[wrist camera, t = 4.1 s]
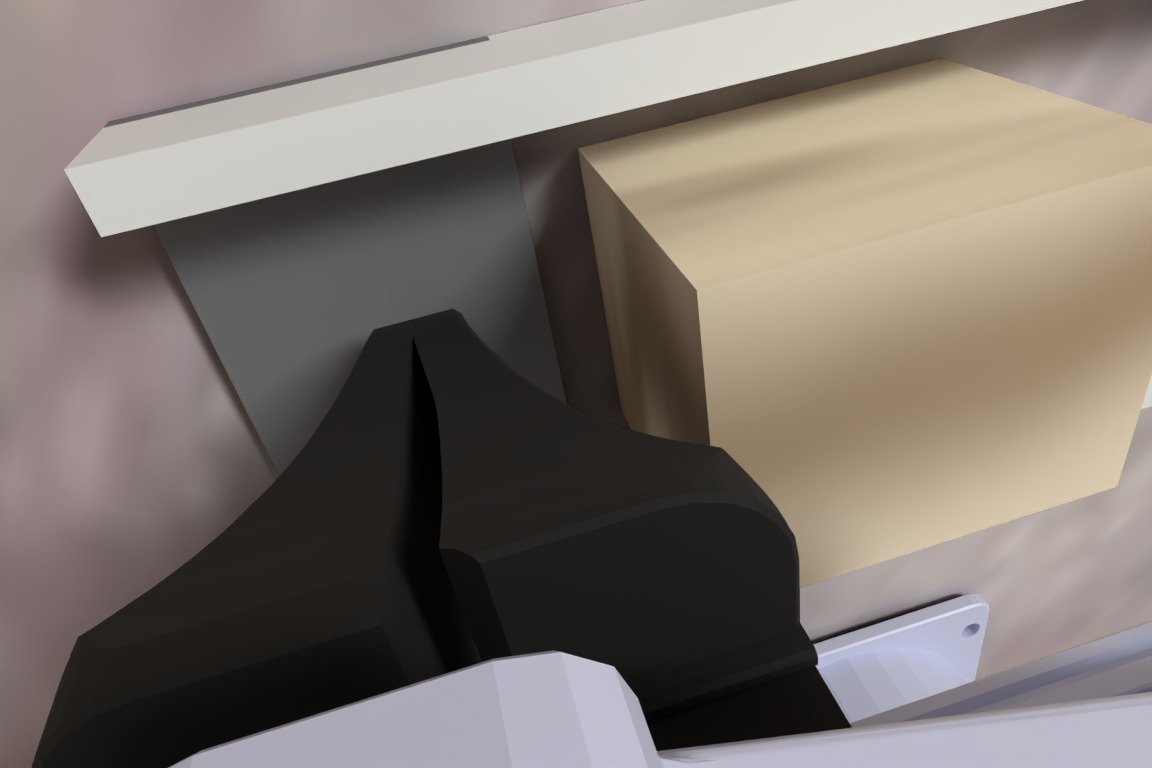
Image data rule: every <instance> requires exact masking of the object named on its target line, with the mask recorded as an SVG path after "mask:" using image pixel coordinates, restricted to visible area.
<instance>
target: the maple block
mask: <svg viewBox="0 0 1152 768" xmlns="http://www.w3.org/2000/svg"><path fill="white" fill-rule="evenodd" d="M578 153H579V159H580V165H581V171H582V177H583V183H584V189H585V195H586V201H587V207H588V213H589V219H590V225H591V231H592V237H593V243H594V249H595V255H596V261H597V267H598V273H599V279H600V285H601V291H602V297H603V303H604V309H605V315H606V321H607V327H608V333H609V339H610V345H611V351H612V357H613V363H614V369H615V375H616V381H617V387H618V393H619V399H620V405H621V411H622V413H623V415H624V416H625V418H626V420H627V422H628V424H629V426H630V428H631V430H634V431H638V432H642V433H645V434H649V435H653V436H657V437H661V438H665V439H671V440H678V441H684V442H690V443H696V444H703V445H709V446H715V447H721V448H722V449H724V450H725V451H726V452H727V453H728V454H729V455H730V456H731V457H732V458H733V459H734V460H735V461H736V462H737V463H738V464H739V465H740V466H741V467H742V468H743V469H744V470H745V471H746V472H747V473H748V474H749V475H750V476H751V477H752V479H753V480H754V481H755V482H756V483H757V484H758V485H759V486H760V487H761V488H762V489H763V491H764V492H765V493H766V494H767V495H768V496H769V498H770V499H771V500H772V502H773V503H774V504H775V505H776V507H777V508H778V510H779V511H780V513H781V514H782V516H783V517H784V519H785V520H786V522H787V524H788V526H789V528H790V529H791V531H792V532H793V534H794V535H795V539H796V544H797V549H798V554H799V571H800V588H802V587H805V586H808V585H811V584H814V583H817V582H821V581H824V580H827V579H830V578H833V577H836V576H839V575H842V574H846V573H849V572H852V571H855V570H858V569H861V568H864V567H867V566H871V565H874V564H877V563H880V562H883V561H886V560H889V559H892V558H895V557H899V556H902V555H905V554H908V553H911V552H914V551H917V550H920V549H924V548H927V547H930V546H933V545H936V544H939V543H942V542H945V541H948V540H952V539H955V538H958V537H961V536H964V535H967V534H970V533H973V532H977V531H980V530H983V529H986V528H989V527H992V526H995V525H998V524H1001V523H1005V522H1008V521H1011V520H1014V519H1017V518H1020V517H1023V516H1026V515H1030V514H1033V513H1036V512H1039V511H1042V510H1045V509H1048V508H1051V507H1054V506H1058V505H1061V504H1064V503H1067V502H1070V501H1073V500H1076V499H1079V498H1083V497H1086V496H1089V495H1092V494H1095V493H1098V492H1101V491H1104V490H1107V489H1111V488H1114V487H1117V485H1118V482H1119V478H1120V475H1121V472H1122V469H1123V465H1124V462H1125V459H1126V456H1127V452H1128V449H1129V446H1130V443H1131V439H1132V436H1133V433H1134V430H1135V426H1136V423H1137V420H1138V417H1139V414H1140V410H1141V407H1142V404H1143V401H1144V397H1145V394H1146V391H1147V388H1148V384H1149V381H1150V378H1151V375H1152V124H1149V123H1146V122H1143V121H1140V120H1136V119H1133V118H1130V117H1127V116H1124V115H1121V114H1117V113H1114V112H1111V111H1108V110H1105V109H1102V108H1098V107H1095V106H1092V105H1089V104H1086V103H1083V102H1079V101H1076V100H1073V99H1070V98H1067V97H1063V96H1060V95H1057V94H1054V93H1051V92H1048V91H1044V90H1041V89H1038V88H1035V87H1032V86H1029V85H1025V84H1022V83H1019V82H1016V81H1013V80H1010V79H1006V78H1003V77H1000V76H997V75H994V74H991V73H987V72H984V71H981V70H978V69H975V68H972V67H968V66H965V65H962V64H959V63H956V62H953V61H949V60H946V59H943V58H940V59H936V60H932V61H928V62H924V63H920V64H916V65H912V66H908V67H904V68H900V69H896V70H892V71H888V72H884V73H880V74H876V75H872V76H868V77H864V78H860V79H856V80H852V81H847V82H843V83H839V84H835V85H831V86H827V87H823V88H819V89H815V90H811V91H807V92H803V93H799V94H795V95H791V96H787V97H783V98H779V99H775V100H771V101H767V102H763V103H759V104H755V105H751V106H747V107H743V108H739V109H735V110H731V111H727V112H723V113H719V114H715V115H711V116H707V117H703V118H699V119H695V120H691V121H687V122H683V123H678V124H674V125H670V126H666V127H662V128H658V129H654V130H650V131H646V132H642V133H638V134H634V135H630V136H626V137H622V138H618V139H614V140H610V141H606V142H602V143H598V144H594V145H590V146H586V147H582V148H578Z"/></svg>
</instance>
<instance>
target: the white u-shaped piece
mask: <svg viewBox="0 0 1152 768" xmlns="http://www.w3.org/2000/svg"><path fill="white" fill-rule="evenodd" d="M1078 1H1083V0H644V1H640V2H635V3H631V4H627V5H622V6H618V7H613V8H609V9H605V10H600V11H596V12H591V13H587V14H582V15H578V16H574V17H569V18H565V19H560V20H556V21H552V22H547V23H543V24H538V25H534V26H529V27H525V28H521V29H516V30H512V31H507V32H503V33H499V34H494V35H490V36H485V37H481V38H476V39H472V40H468V41H463V42H459V43H454V44H450V45H446V46H441V47H437V48H432V49H428V50H423V51H419V52H415V53H410V54H406V55H401V56H397V57H393V58H388V59H384V60H379V61H375V62H370V63H366V64H362V65H357V66H353V67H348V68H344V69H340V70H335V71H331V72H326V73H322V74H317V75H313V76H309V77H304V78H300V79H295V80H291V81H287V82H282V83H278V84H273V85H269V86H264V87H260V88H256V89H251V90H247V91H242V92H238V93H234V94H229V95H225V96H220V97H216V98H211V99H207V100H203V101H198V102H194V103H189V104H185V105H181V106H176V107H172V108H167V109H163V110H158V111H154V112H150V113H145V114H141V115H136V116H132V117H128V118H123V119H119V120H114V121H110V122H108V123H107V124H106V125H105V127H104V128H103V129H102V130H101V131H100V132H99V133H98V134H97V135H96V136H95V137H94V138H93V139H92V140H91V141H90V143H89V144H88V145H87V146H86V147H85V148H84V149H83V150H82V151H81V152H80V153H79V154H78V155H77V156H76V157H75V159H74V160H73V161H72V162H71V163H70V164H69V165H68V166H67V167H66V168H65V169H64V171H65V172H66V174H67V176H68V178H69V180H70V182H71V183H72V185H73V187H74V189H75V191H76V192H77V194H78V196H79V198H80V200H81V202H82V203H83V205H84V207H85V209H86V211H87V212H88V214H89V216H90V218H91V220H92V222H93V223H94V225H95V227H96V229H97V231H98V232H99V234H100V236H101V237H105V236H109V235H113V234H117V233H121V232H125V231H130V230H134V229H138V228H142V227H146V226H150V225H153V227H154V229H155V231H156V233H157V235H158V237H159V239H160V241H161V243H162V245H163V247H164V249H165V251H166V253H167V255H168V257H169V259H170V261H171V263H172V265H173V267H174V269H175V271H176V273H177V275H178V277H179V279H180V281H181V283H182V285H183V287H184V289H185V291H186V293H187V295H188V297H189V299H190V301H191V303H192V304H193V306H194V308H195V310H196V312H197V314H198V316H199V318H200V320H201V322H202V324H203V326H204V328H205V330H206V332H207V334H208V336H209V338H210V340H211V342H212V344H213V346H214V348H215V350H216V352H217V354H218V356H219V358H220V360H221V362H222V364H223V366H224V368H225V370H226V372H227V374H228V376H229V378H230V380H231V382H232V384H233V386H234V388H235V390H236V392H237V394H238V395H239V397H240V399H241V401H242V403H243V405H244V407H245V409H246V411H247V413H248V415H249V417H250V419H251V421H252V423H253V425H254V427H255V429H256V431H257V433H258V435H259V437H260V439H261V441H262V443H263V445H264V447H265V449H266V451H267V453H268V455H269V457H270V459H271V461H272V463H273V465H274V467H275V469H276V471H277V473H278V475H279V476H280V475H281V474H282V473H283V472H284V471H285V469H286V468H287V467H288V466H289V465H290V464H291V462H292V461H293V460H294V459H295V458H296V456H297V455H298V454H299V453H300V451H301V450H302V449H303V448H304V446H305V445H306V444H307V442H308V441H309V440H310V438H311V437H312V435H313V434H314V432H315V431H316V429H317V428H318V426H319V425H320V423H321V422H322V420H323V419H324V417H325V416H326V414H327V413H328V411H329V410H330V408H331V407H332V405H333V403H334V401H335V400H336V398H337V396H338V394H339V393H340V391H341V389H342V387H343V386H344V384H345V382H346V380H347V379H348V377H349V375H350V373H351V371H352V369H353V367H354V365H355V363H356V361H357V359H358V358H359V356H360V354H361V352H362V350H363V348H364V346H365V344H366V342H367V340H368V338H369V336H370V335H371V333H372V331H373V330H374V329H377V328H381V327H385V326H389V325H392V324H396V323H400V322H404V321H408V320H411V319H415V318H419V317H423V316H426V315H430V314H434V313H438V312H442V311H445V310H449V309H455V310H457V311H458V312H460V313H462V315H463V317H464V319H465V320H466V322H467V323H468V325H469V326H470V327H471V329H472V330H473V331H474V332H475V333H476V334H477V336H478V337H479V338H480V339H481V340H482V341H483V342H484V343H485V344H486V345H487V346H488V347H489V348H490V349H491V350H492V351H493V352H495V353H496V354H497V355H498V356H499V357H500V358H501V359H502V360H503V361H505V362H506V363H507V364H508V365H509V366H510V367H512V368H513V369H514V370H515V371H517V372H518V373H519V374H521V375H522V376H523V377H525V378H526V379H527V380H529V381H530V382H532V383H533V384H534V385H536V386H537V387H539V388H540V389H542V390H543V391H545V392H547V393H548V394H550V395H551V396H553V397H555V398H557V399H558V400H560V401H562V402H564V403H565V404H567V401H566V396H565V392H564V387H563V382H562V378H561V373H560V368H559V363H558V359H557V354H556V349H555V344H554V340H553V335H552V330H551V325H550V321H549V316H548V311H547V307H546V302H545V297H544V292H543V288H542V283H541V278H540V273H539V269H538V264H537V259H536V254H535V250H534V245H533V240H532V236H531V231H530V226H529V221H528V217H527V212H526V207H525V202H524V198H523V193H522V188H521V183H520V179H519V174H518V169H517V165H516V160H515V155H514V150H513V146H512V141H511V138H515V137H519V136H523V135H527V134H532V133H536V132H540V131H544V130H548V129H552V128H556V127H561V126H565V125H569V124H573V123H577V122H581V121H585V120H590V119H594V118H598V117H602V116H606V115H610V114H614V113H619V112H623V111H627V110H631V109H635V108H639V107H643V106H648V105H652V104H656V103H660V102H664V101H668V100H672V99H677V98H681V97H685V96H689V95H693V94H697V93H701V92H706V91H710V90H714V89H718V88H722V87H726V86H730V85H735V84H739V83H743V82H747V81H751V80H755V79H759V78H764V77H768V76H772V75H776V74H780V73H784V72H788V71H793V70H797V69H801V68H805V67H809V66H813V65H817V64H822V63H826V62H830V61H834V60H838V59H842V58H846V57H851V56H855V55H859V54H863V53H867V52H871V51H875V50H880V49H884V48H888V47H892V46H896V45H900V44H904V43H909V42H913V41H917V40H921V39H925V38H929V37H933V36H938V35H942V34H946V33H950V32H954V31H958V30H962V29H967V28H971V27H975V26H979V25H983V24H987V23H991V22H996V21H1000V20H1004V19H1008V18H1012V17H1016V16H1020V15H1025V14H1029V13H1033V12H1037V11H1041V10H1045V9H1049V8H1054V7H1058V6H1062V5H1066V4H1070V3H1074V2H1078ZM1151 406H1152V375H1151V378H1150V381H1149V384H1148V388H1147V391H1146V394H1145V397H1144V401H1143V404H1142V407H1141V409H1144V408H1147V407H1151Z"/></svg>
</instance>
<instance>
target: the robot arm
mask: <svg viewBox="0 0 1152 768" xmlns="http://www.w3.org/2000/svg"><path fill="white" fill-rule="evenodd" d="M988 616H989V606H988V605H987V603H986V602H985V601H984V600H983V599H982V598H981V597H980V596H979V595H977V594H967V595H963V596H960V597H957V598H954V599H951V600H948V601H945V602H942V603H939V604H936V605H933V606H929V607H926V608H923V609H920V610H917V611H914V612H911V613H908V614H905V615H902V616H899V617H896V618H893V619H889V620H886V621H883V622H880V623H877V624H874V625H871V626H868V627H865V628H862V629H859V630H856V631H853V632H849V633H846V634H843V635H840V636H837V637H834V638H831V639H828V640H825V641H822V642H819V643H816V644H813V643H812V642H811V640H810V638H809V637H808V635H807V634H806V632H805V630H804V629H803V627H802V625H801V624H800V571H799V554H798V549H797V544H796V539H795V535H794V534H793V532H792V531H791V529H790V528H789V526H788V524H787V522H786V520H785V519H784V517H783V516H782V514H781V513H780V511H779V510H778V508H777V507H776V505H775V504H774V503H773V502H772V500H771V499H770V498H769V496H768V495H767V494H766V493H765V492H764V491H763V489H762V488H761V487H760V486H759V485H758V484H757V483H756V482H755V481H754V480H753V479H752V477H751V476H750V475H749V474H748V473H747V472H746V471H745V470H744V469H743V468H742V467H741V466H740V465H739V464H738V463H737V462H736V461H735V460H734V459H733V458H732V457H731V456H730V455H729V454H728V453H727V452H726V451H725V450H724V449H722V448H721V447H715V446H709V445H703V444H696V443H690V442H684V441H678V440H671V439H665V438H661V437H657V436H653V435H649V434H645V433H642V432H638V431H634V430H630V429H627V428H624V427H621V426H618V425H615V424H612V423H609V422H606V421H604V420H601V419H599V418H596V417H594V416H591V415H589V414H586V413H584V412H581V411H579V410H577V409H575V408H573V407H571V406H569V405H567V404H565V403H564V402H562V401H560V400H558V399H557V398H555V397H553V396H551V395H550V394H548V393H547V392H545V391H543V390H542V389H540V388H539V387H537V386H536V385H534V384H533V383H532V382H530V381H529V380H527V379H526V378H525V377H523V376H522V375H521V374H519V373H518V372H517V371H515V370H514V369H513V368H512V367H510V366H509V365H508V364H507V363H506V362H505V361H503V360H502V359H501V358H500V357H499V356H498V355H497V354H496V353H495V352H493V351H492V350H491V349H490V348H489V347H488V346H487V345H486V344H485V343H484V342H483V341H482V340H481V339H480V338H479V337H478V336H477V334H476V333H475V332H474V331H473V330H472V329H471V327H470V326H469V325H468V323H467V322H466V320H465V319H464V317H463V315H462V313H460V312H458V311H457V310H455V309H449V310H445V311H442V312H438V313H434V314H430V315H426V316H423V317H419V318H415V319H411V320H408V321H404V322H400V323H396V324H392V325H389V326H385V327H381V328H377V329H374V330H373V331H372V333H371V335H370V336H369V338H368V340H367V342H366V344H365V346H364V348H363V350H362V352H361V354H360V356H359V358H358V359H357V361H356V363H355V365H354V367H353V369H352V371H351V373H350V375H349V377H348V379H347V380H346V382H345V384H344V386H343V387H342V389H341V391H340V393H339V394H338V396H337V398H336V400H335V401H334V403H333V405H332V407H331V408H330V410H329V411H328V413H327V414H326V416H325V417H324V419H323V420H322V422H321V423H320V425H319V426H318V428H317V429H316V431H315V432H314V434H313V435H312V437H311V438H310V440H309V441H308V442H307V444H306V445H305V446H304V448H303V449H302V450H301V451H300V453H299V454H298V455H297V456H296V458H295V459H294V460H293V461H292V462H291V464H290V465H289V466H288V467H287V468H286V469H285V471H284V472H283V473H282V474H281V475H280V476H279V477H278V479H277V480H276V481H275V482H274V483H273V484H272V485H271V486H270V487H269V488H268V490H267V491H265V492H264V493H263V494H262V495H261V496H260V497H259V498H258V499H257V500H256V501H255V502H254V503H253V504H252V505H251V506H250V507H249V508H248V509H247V510H246V511H245V512H244V513H243V514H242V515H241V516H240V517H239V518H238V519H237V520H236V521H235V522H234V523H233V524H231V525H230V526H229V527H228V528H227V529H226V530H225V531H224V532H223V533H222V534H221V535H219V536H218V537H217V538H216V539H215V540H213V541H212V542H211V543H210V544H209V545H207V546H206V547H205V548H204V549H203V550H202V551H200V552H199V553H198V554H197V555H195V556H194V557H193V558H192V559H190V560H189V561H188V562H186V563H185V564H184V565H183V566H181V567H180V568H179V569H177V570H176V571H175V572H174V573H172V574H171V575H170V576H168V577H167V578H166V579H164V580H163V581H161V582H160V583H159V584H157V585H156V586H155V587H153V588H152V589H150V590H149V591H147V592H146V593H144V594H143V595H141V596H140V597H138V598H137V599H136V600H134V601H133V602H131V603H130V604H128V605H127V606H125V607H124V608H122V609H121V610H119V611H118V612H116V613H115V614H113V615H112V616H110V617H109V618H107V619H106V620H104V621H103V622H101V623H100V624H98V625H97V626H95V627H94V628H92V629H91V630H89V631H87V632H86V633H84V634H82V635H81V636H79V637H78V639H77V641H76V644H75V646H74V648H73V651H72V653H71V656H70V658H69V661H68V663H67V666H66V668H65V671H64V673H63V675H62V678H61V681H60V684H59V687H58V690H57V693H56V696H55V699H54V702H53V705H52V707H51V710H50V713H49V716H48V719H47V722H46V725H45V728H44V731H43V734H42V737H41V740H40V743H39V746H38V749H37V752H36V755H35V758H34V762H33V765H32V768H1152V621H1150V622H1147V623H1144V624H1141V625H1138V626H1135V627H1132V628H1129V629H1126V630H1123V631H1120V632H1117V633H1114V634H1112V635H1109V636H1106V637H1103V638H1100V639H1097V640H1094V641H1091V642H1088V643H1085V644H1082V645H1079V646H1076V647H1073V648H1070V649H1067V650H1064V651H1061V652H1058V653H1056V654H1053V655H1050V656H1047V657H1044V658H1041V659H1038V660H1035V661H1032V662H1029V663H1026V664H1023V665H1020V666H1017V667H1014V668H1011V669H1008V670H1005V671H1003V672H1000V673H997V674H994V675H991V676H988V677H985V678H982V679H979V680H976V681H975V677H976V672H977V667H978V663H979V658H980V653H981V649H982V644H983V639H984V634H985V630H986V625H987V620H988Z"/></svg>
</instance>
